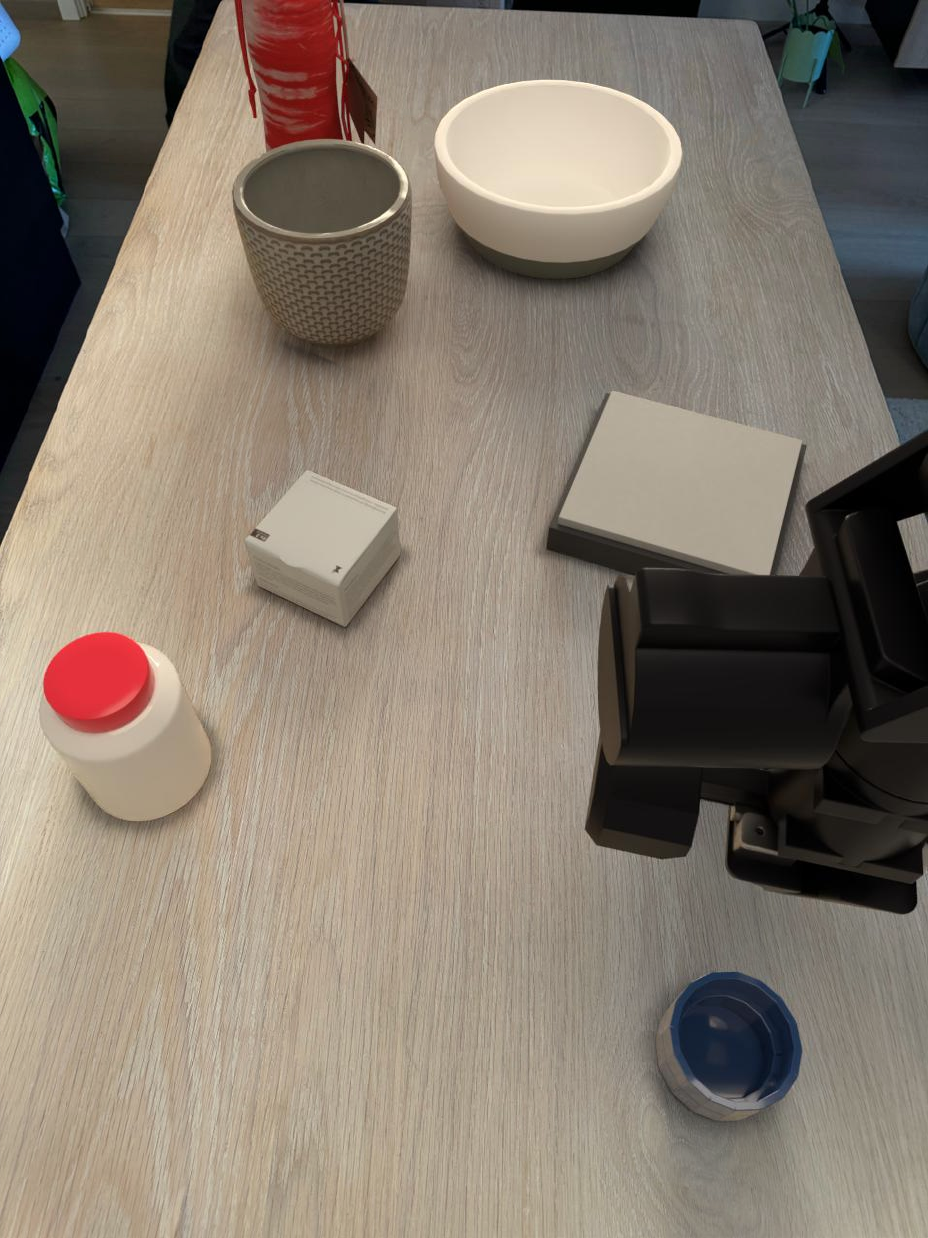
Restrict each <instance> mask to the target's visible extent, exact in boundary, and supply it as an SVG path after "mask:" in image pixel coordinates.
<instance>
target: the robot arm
mask: <svg viewBox="0 0 928 1238" xmlns="http://www.w3.org/2000/svg"><path fill="white" fill-rule="evenodd" d="M804 511H805V514H806V515H805V516H806V519H807V523H808V528H809V531H810V536H811V539H812V544H813V549H812V551H811V553H810V555H809V556H808V558H807V560H806V563H805V564H804V567H803V568H802V569H801V571H800V573H799V574H798V575H792V574H791V575H789V574H788V575H787V574H786V575H785V574H784V575H783V574H780V575H779V574H776V575H748V574H714V573H705V572H700V571H694V570H689V569H678V568H642V569H640V570H638V571H637V572H636V573H635V575H619V576H617V578H616V579H615V581H614V583H613V584H607V585H606V588H605V591H604V595H603V600H602V607H601V615H600V621H599V633H598V645H597V711H598V712H597V713H598V723H599V736H598V740H597V747H596V755H595V761H594V767H593V775H592V778H591V779H592V780H591V786H590V791H589V799H588V805H587V812H586V818H585V823H584V831H585V832H586V833H587V835H588V836H589V838H590V839H591V840H592V842H593V843H594V844H595V846H597V847H603V848H607V849H611V850H616V851H621V852H625V853H630V854H634V855H639V856H644V857H648V858H653V859H656V860H670V859H677V858H686V857H687V855H688V854H689V852H690V850H691V849H692V847H693V842H694V838H695V834H696V829H697V826H698V821H699V816H700V807H701V801H704V802H711V803H716V804H720V805H725V806H727V808H728V809H727V821H726V837H725V851H724V867H725V870H726V872H727V873H728V875H729V876H731V877H732V878H733V879H735V880H738V881H741V882H747V883H750V884H753V885H756V886H758V887H760V888H762V889H763V890H764V891H766V892H770V893H775V894H780V895H785V896H790V897H791V896H792V897H796V898H804V899H811V900H816V901H822V902H826V903H827V902H828V903H831V904H832V903H833V904H839V905H844V906H851V907H857V908H862V909H867V910H868V909H869V910H874V911H879V912H885V913H889V914H895V915H901V916H902V915H908V914H910V913H912V912H913V911H914V910H915V909H916V908H917V906H918V884H917V881H918V880H919V879H921V878H922V877H923V876H924V875H925V873H924V871H928V569H922V570H919V571H913V568H912V565H911V561H910V559H909V556H908V553H907V549H906V546H905V542H904V540H903V537H902V533H901V530H900V526H899V523H898V522H901V521H904V520H908V519H910V518H913V517H916V516H919V515H922V514H924V516H925V520H926V523H927V524H928V428H926V429H925V430H923V431H921V432H920V433H918V434H916V435H915V436H912V437H911V438H910V439H908V440H907V441H905V442H904V443H903V442H902V444H900V445H898V446H896V447H895V448H894V449H891V450H890V451H888V452H886V453H885V454H884V455H882V456H880V457H878V458H876V459H875V460H874V461H872V462H871V463H869V464H866V466H863V467H862V468H860V469H859V470H857V471H856V472H854V473H852V474H851V475H849V476H847V477H846V478H844V479H842V480H841V481H839V482H838V483H836V484H834V485H832V486H830V487H829V488H828V489H825V490H824V491H823V492H821V493H819V494H818V495H815V496H814V497H812V498H811V499H810V500H808V501H807V502H806V504H804Z"/></svg>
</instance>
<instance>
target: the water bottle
mask: <svg viewBox="0 0 928 1238" xmlns="http://www.w3.org/2000/svg"><path fill="white" fill-rule="evenodd" d="M233 1H234V9H235V17H236V26H237V36H238V40H239V44H240V45H239V46H240V50H241V56H242V61H243V66H244V72H245V75H246V77H247V81H248V86H249V87H248V88H249V89H248V90H247V93H248V100H249V101H248V102H249V104H250V108H251V112H252V118H253V119H257V118H258V113H257V103H256V93H257V91H258V97H259V102H260V108H261V109H260V110H261V114H262V119H263V120H262V122H263V133H264V143H265V152H267V151H269V150H271V149H274V148H277V147H280V146H282V145H286V144H290V143H294V142H299V141H305V140H315V139H338V140H344V137H345V140H348V141H353V135H352V126H351V120H352V123H353V125H354V129H355V131H356V133H357V136H358V140H359V141H360V143H362V144H365V139H366V138H365V137H366V136H365V135H367V136H368V137H369V140H371V142H372V143H373V144H374V145H376V137H377V135H376V133H377V116H378V115H377V114H378V95H377V94H376V93H375V91H374V90H373V89H372V87H371V86H370V84H369V83H368V82H367V80H366V79H365V78H364V76H363V75H362V74H361V72H360V71H359V69H358V68H357V67H356V65H355V63H354V62H355V61H356V60H355V58H354V57H351V56H350V47H349V37H348V29H347V28H348V27H347V20H346V13H345V6H344V5H345V4H344V0H233ZM338 3H339V4H338ZM334 18H335V19H336V27H337V29H335V19H334ZM342 33H343V34H342ZM344 53H345V54H344ZM248 55H249V57H248ZM249 58H250V62H249ZM337 59H338V60H339V61H340V66H341V74H342V75H341V76H342V84H341V98H340V108H339V99H338V97H339V96H338V85H337ZM250 63H251V66H252V71H253V74H254V78H255V82H254V80H253V77H252V74H251V67H250ZM255 83H256V84H255ZM256 86H257V87H256ZM340 115H341V116H340ZM342 128H343V129H342ZM343 133H344V135H343Z"/></svg>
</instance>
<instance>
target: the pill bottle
mask: <svg viewBox="0 0 928 1238" xmlns="http://www.w3.org/2000/svg"><path fill="white" fill-rule="evenodd" d="M42 687H43V691H42V693H41V697H40V701H39V707H38V713H39V714H38V716H39V725H40V727H41V730H42V733H43V735H44V737H45V738H46V740H47V741H48V743H49V744H50V746H51V747H52V748H53V750H54V751H55V752H56V754H57V755H58V757H60V759H61V760H62V762H63V763H64V764H65V766H66V767H67V768H68V769H69V770H70V772H71V773H72V775H74V777H75V779H77V781H78V782H79V784H80V785H81V786H82V787H83V789H84V790H85V791H86V792H87V793H88V795H89V797H90V798H91V799H92V800H93V801H94V803H95V804H96V806H98V807H99V808H100V809H101V810H103V811H104V812H105V813H106V814H108V815H110V816H112V817H114V818H117V819H120V820H124V821H131V822H147V821H148V822H149V821H154V820H156V819H161V818H164V817H166V816H168V815H170V814H172V813H175V812H177V811H178V810H179V809H181V808H182V807H184V806H185V805H187V804H188V803H189V802H190V801H191V800H192V799H193V798H194V797H195V796H196V795H197V794H198V793H199V791H200V790H201V788H202V787H203V786H204V784H205V782H206V779H207V777H208V776H209V773H210V768H211V766H212V753H213V752H212V747H211V742H210V739H209V737H208V735H207V733H206V730H205V728H204V726H203V724H202V722H201V719H200V718H199V715H198V712H197V711H196V709H195V705H193V702H192V700H191V697H190V696H189V694H188V691H187V689H186V686H185V685H184V683H183V681H182V679H181V676H180V674H179V672H178V670H177V668H176V666H175V664H174V663H173V662H172V661H171V660H170V658H169V657H168V656H167V655H166V654H164V653H163V652H162V651H161V650H159V649H158V648H155V646H152V645H149V644H147V643H143V642H140V641H135V640H134V639H133V638H131V637H129V636H128V635H125V634H122V633H118V632H113V631H102V632H94V633H89V634H86V635H83V636H81V637H78V638H75V639H74V640H72V641H71V642H69V643H67V644H66V645H65V646H63V647H62V648H61V649H59V651H58V652H57V653H55V655H54V656H53V658H51V660H50V662H49V663H48V665H47V667H46V670H45V672H44V676H43V681H42Z"/></svg>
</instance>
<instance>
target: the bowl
mask: <svg viewBox="0 0 928 1238" xmlns="http://www.w3.org/2000/svg"><path fill="white" fill-rule="evenodd" d="M433 140H434V142H433V151H434V161H435V170H436V177H437V181H438V184H439V187H440V190H441V193H442V196H443V197H444V200H445V203H446V205H447V208H448V210H449V212H450V214H451V216H452V218H453V219H454V221H455V223H456V224H457V226H458V227H459V228H460V230H461V231H462V233H463V234H464V235H465V238H466V240H467V241H468V243H469V245H470V246H471V247H472V249H474V251H475V252H476V253H478V254H479V255H480V257H482V258H484V259H485V260H486V261H488V262H490V263H491V264H493V265H495V266H497V267H499V268H502V269H504V270H506V271H508V272H510V273H515V274H518V275H522V276H526V277H532V278H539V279H549V280H550V279H553V280H555V279H556V280H564V279H574V278H575V279H576V278H580V277H581V278H582V277H586V276H591V275H594V274H597V273H600V272H601V271H605V270H607V269H610V268H611V267H613V266H614V265H616V264H617V263H620V262H621V261H622V260H623V259H624V258H626V256H627V255H629V253H630V252H631V251H632V250H633V248H635V246H636V245H637V244H638V243H639V242H640V241H641V240H642V239H643V238H644V236H646V235H647V234H648V233H649V232H650V231H651V229H652V228H653V226H654V224H655V223H656V221H657V220H658V218H659V217H660V215H661V214H662V212H663V211H664V209H665V208H666V206H667V204H668V202H669V200H670V198H671V197H672V194H673V193H674V189H675V185H676V182H677V179H678V176H679V173H680V170H681V167H682V161H683V156H684V153H683V148H682V143H681V138H680V137H679V135H678V133H677V131H676V130H675V127H674V126H673V125H672V124H671V123H670V122H669V120H668V119H667V118H666V117H665V116H664V115H663V114H662V113H660V112H659V111H657V110H656V109H655V108H653V107H652V106H650V105H649V104H648V103H646V102H644V101H643V100H640V99H638V98H636V97H634V96H633V95H631V94H628V93H625V92H622V91H619V90H616V89H614V88H611V87H606V86H601V85H598V84H594V83H588V82H583V81H582V82H581V81H573V80H562V79H538V80H537V79H536V80H524V81H523V80H522V81H517V82H511V83H506V84H500V85H497V86H494V87H491V88H487V89H484V90H481V91H479V92H477V93H474V94H472V95H471V96H468V97H467V98H464V99H463V100H462V101H460V102H459V103H457V104H456V105H454V106H453V107H452V108H451V109H450V110H449V111H448V112H447V113H446V114H445V115H444V116H443V118H442V119H440V122H439V124H438V127H437V129H436V131H435V133H434V139H433Z"/></svg>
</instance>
